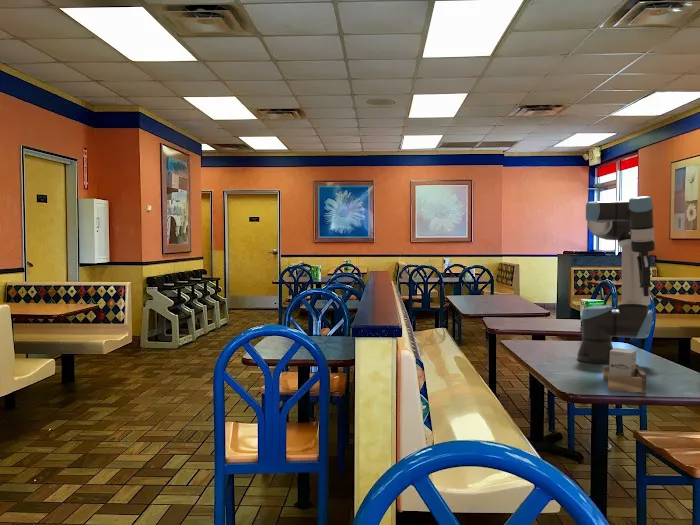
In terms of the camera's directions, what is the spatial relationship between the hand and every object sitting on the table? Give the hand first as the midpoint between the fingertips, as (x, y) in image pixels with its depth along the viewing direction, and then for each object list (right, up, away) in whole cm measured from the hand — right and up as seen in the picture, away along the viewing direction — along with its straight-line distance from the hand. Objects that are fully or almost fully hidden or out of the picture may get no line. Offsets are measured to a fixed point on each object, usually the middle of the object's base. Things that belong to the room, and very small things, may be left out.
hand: (646, 304), depth 210 cm
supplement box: (-12, -29, -6) cm, 31 cm away
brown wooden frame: (-12, -28, -7) cm, 32 cm away
